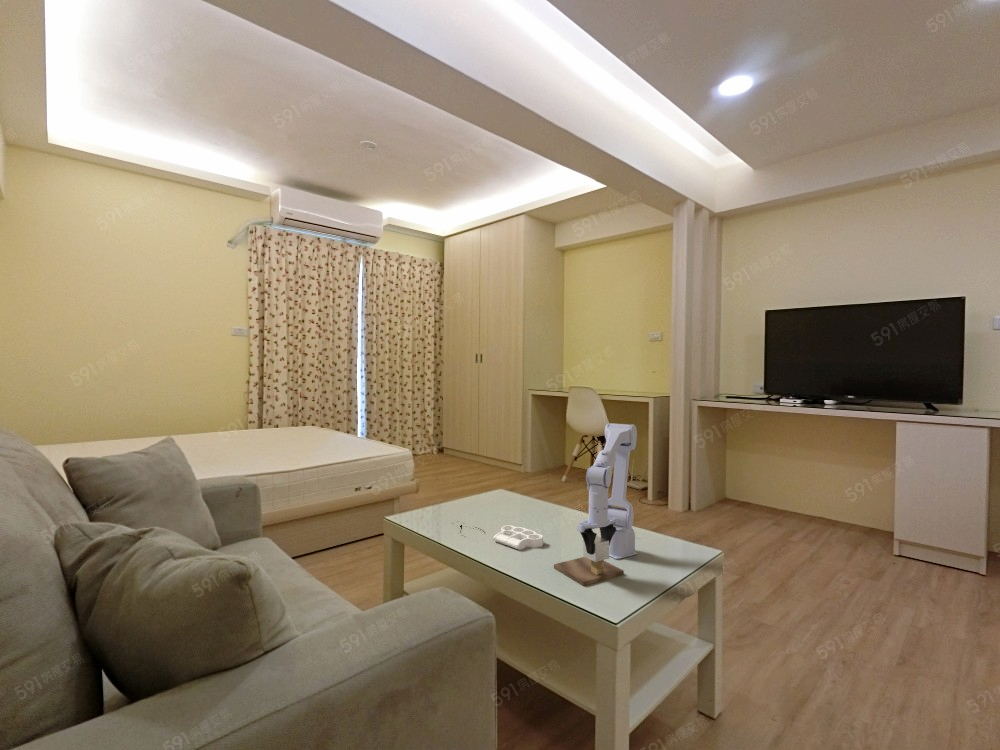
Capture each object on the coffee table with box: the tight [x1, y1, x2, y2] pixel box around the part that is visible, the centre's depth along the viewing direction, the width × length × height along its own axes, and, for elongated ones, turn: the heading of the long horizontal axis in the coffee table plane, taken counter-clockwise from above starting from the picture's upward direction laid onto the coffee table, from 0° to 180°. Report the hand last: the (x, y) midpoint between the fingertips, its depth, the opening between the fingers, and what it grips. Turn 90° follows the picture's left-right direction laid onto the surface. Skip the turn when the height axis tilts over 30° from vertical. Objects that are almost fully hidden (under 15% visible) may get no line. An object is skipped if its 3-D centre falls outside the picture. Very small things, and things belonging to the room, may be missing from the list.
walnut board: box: [553, 556, 625, 587], centre depth 145 cm, size 16×14×5 cm
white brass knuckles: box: [492, 524, 544, 551], centre depth 170 cm, size 3×18×15 cm
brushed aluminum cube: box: [582, 535, 610, 562], centre depth 142 cm, size 5×5×5 cm
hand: (597, 551), depth 142 cm, fingers closed on brushed aluminum cube, 5 cm apart
